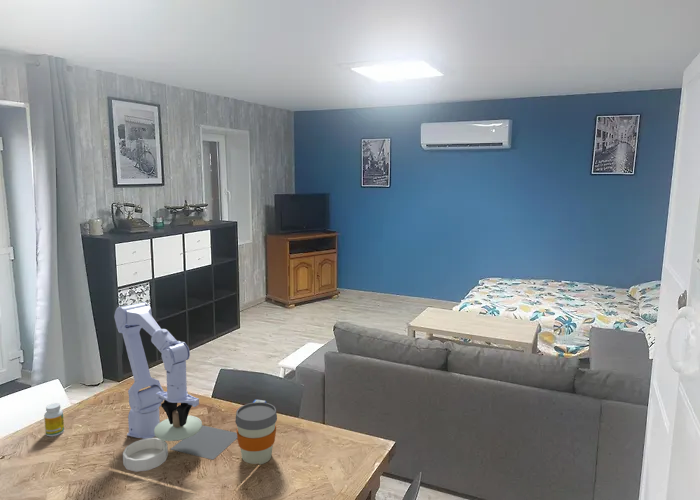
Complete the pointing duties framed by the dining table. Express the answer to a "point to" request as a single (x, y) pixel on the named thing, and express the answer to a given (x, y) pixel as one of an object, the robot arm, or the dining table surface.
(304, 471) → the dining table surface
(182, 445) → the mat
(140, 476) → the dining table surface
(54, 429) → the supplement bottle
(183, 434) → the lid
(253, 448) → the reusable coffee cup
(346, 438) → the dining table surface
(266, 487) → the dining table surface
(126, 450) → the bowl
